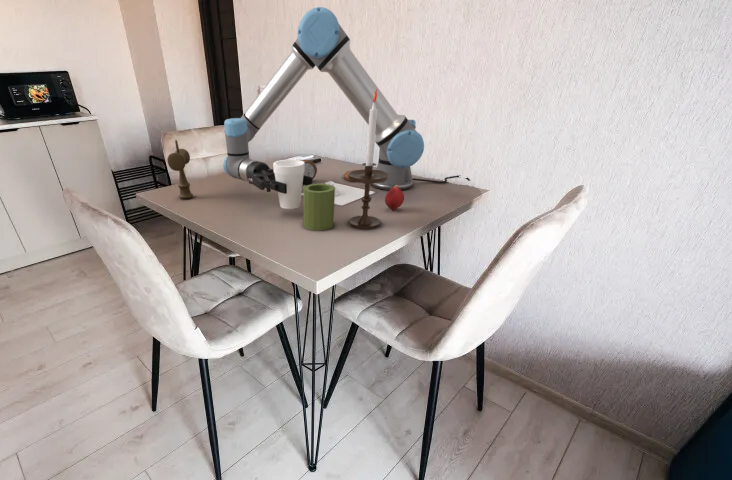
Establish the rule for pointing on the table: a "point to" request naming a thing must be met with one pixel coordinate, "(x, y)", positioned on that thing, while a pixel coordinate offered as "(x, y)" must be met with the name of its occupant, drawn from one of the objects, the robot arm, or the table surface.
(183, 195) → the kendama
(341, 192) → the teacup and saucer
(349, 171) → the cookie
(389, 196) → the onion
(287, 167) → the foam cup
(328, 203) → the thick-walled green cup
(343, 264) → the table surface
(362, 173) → the candlestick
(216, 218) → the table surface
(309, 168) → the tin
